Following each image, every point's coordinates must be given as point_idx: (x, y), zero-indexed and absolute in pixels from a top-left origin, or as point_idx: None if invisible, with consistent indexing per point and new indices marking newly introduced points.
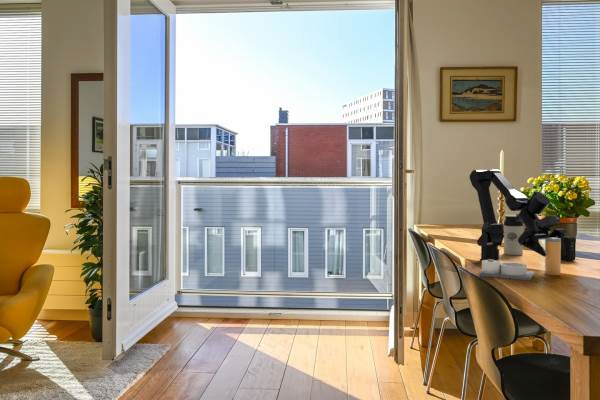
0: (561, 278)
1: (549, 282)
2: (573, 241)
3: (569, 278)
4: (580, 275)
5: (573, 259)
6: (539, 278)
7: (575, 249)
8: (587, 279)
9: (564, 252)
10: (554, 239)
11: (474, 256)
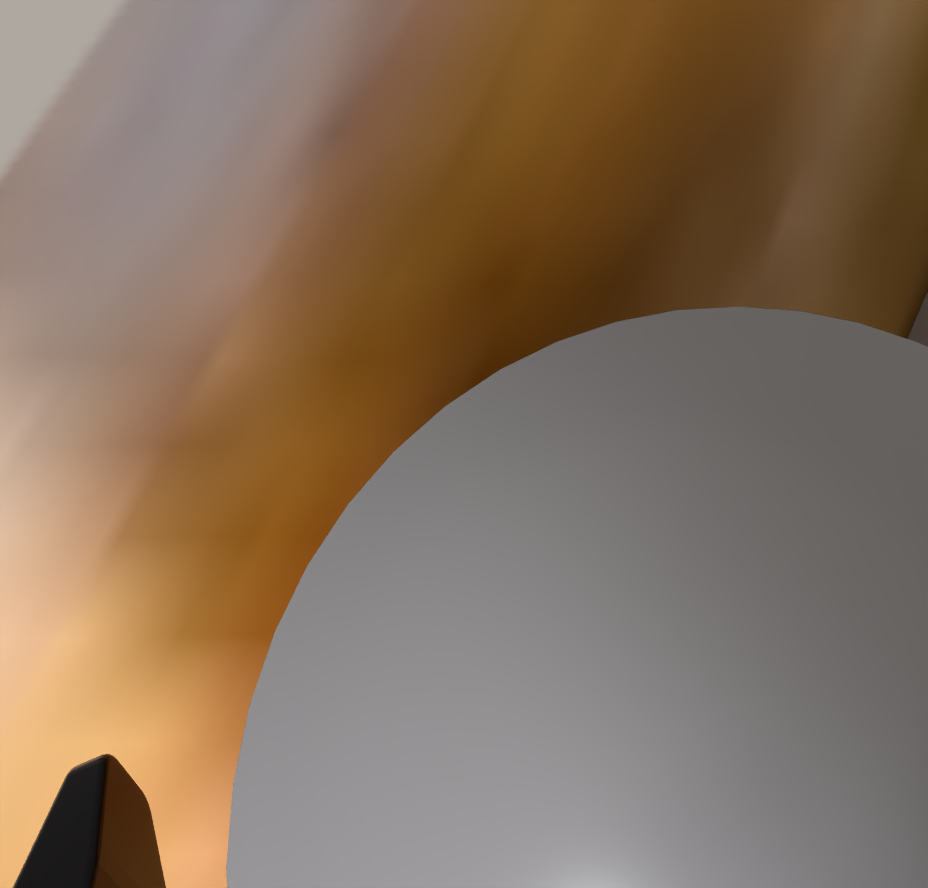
0: (490, 269)
1: (773, 14)
2: None
3: (364, 265)
4: (27, 520)
5: None
6: (817, 278)
7: None
8: (116, 181)
9: (112, 791)
10: (838, 334)
11: None
